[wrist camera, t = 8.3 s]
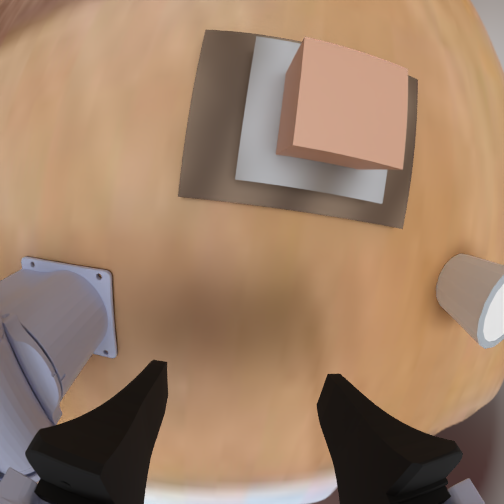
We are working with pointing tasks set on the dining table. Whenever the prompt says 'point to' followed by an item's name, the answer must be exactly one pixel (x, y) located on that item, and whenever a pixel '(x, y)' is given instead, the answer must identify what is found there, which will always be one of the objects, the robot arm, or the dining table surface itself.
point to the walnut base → (225, 133)
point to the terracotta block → (344, 108)
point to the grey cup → (474, 297)
